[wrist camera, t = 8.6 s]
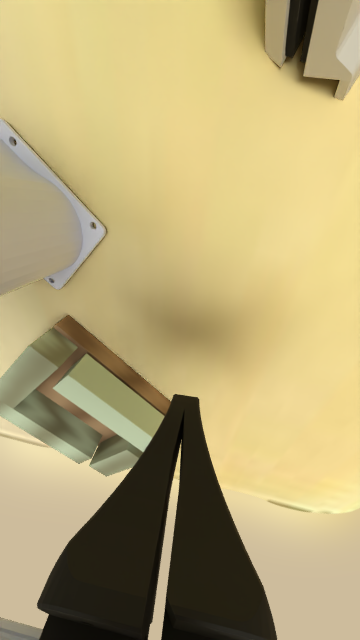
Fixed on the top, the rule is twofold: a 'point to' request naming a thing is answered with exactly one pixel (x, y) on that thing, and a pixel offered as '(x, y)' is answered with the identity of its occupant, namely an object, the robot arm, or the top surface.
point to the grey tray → (60, 413)
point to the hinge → (317, 37)
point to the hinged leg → (110, 401)
